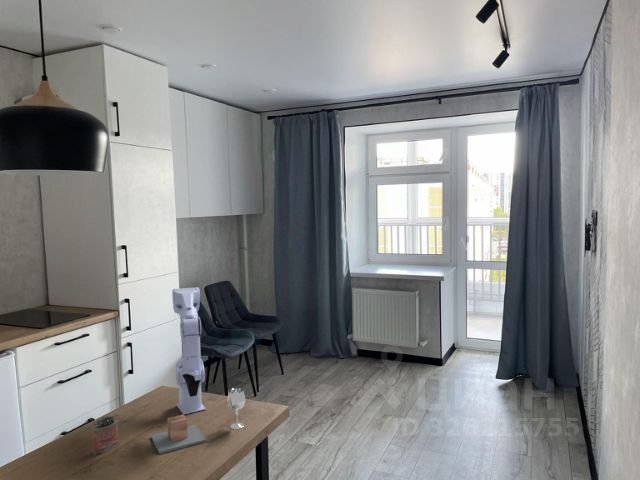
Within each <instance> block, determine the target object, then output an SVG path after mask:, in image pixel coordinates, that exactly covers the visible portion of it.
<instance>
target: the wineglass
mask: <svg viewBox="0 0 640 480" xmlns="http://www.w3.org/2000/svg"><path fill="white" fill-rule="evenodd" d="M226 403H227V406H228V408H229V409H230V410H232V411H234V414H235V423H232V424H231V425H230V426H229V427H230V429H231V430H239V429H242V428H244V426H245V425H244V423H241V422H239V421H238V418H239V417H238V416H239V410H240V411H241V410H242V409H243V408H244V407H245V405H246V395H245V392H244V389H243V388H240V387H235V388H231V389H229V390H228V395H227V402H226Z"/></svg>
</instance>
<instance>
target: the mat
mask: <svg viewBox="0 0 640 480" xmlns="http://www.w3.org/2000/svg"><path fill="white" fill-rule="evenodd" d="M187 433H188V438H185V439H181V440H177V441H173V442H171V441H170V439H169V437H168V430H166V431H163V432H157V433H154V434H151V435H150V438H151V442H152V443H153V444H154V446H155V448H156V451H157V452H158V454H159V455H162V454H166V453H170V452H174V451H177V450H180V449H185V448H189V447H192V446H196V445H200V444H203V443H206V442H207V439H206V437H204V434H202V432H201V431H200V429H199V428H198V427H197V425H196V424H191V425H187Z"/></svg>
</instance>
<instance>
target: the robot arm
mask: <svg viewBox="0 0 640 480" xmlns="http://www.w3.org/2000/svg"><path fill="white" fill-rule="evenodd" d="M200 302H201V291H200V288H199V287H198V286H197V287H182V288H173V289H172V307H173V308H172V309H173V310H174V311H173V313H175V314H178V316H179V318H180V321H179V331H180V337H181V338H180V340H181V345H182V346H181V348H182V351H181V352H182V358H181V359H179V360H178V361H177V362H176V364H175V381H176V382H175V383H176V385H177V386H179V387H178V402H179V403H177V404H176V407H177V408H178V409H179V411H180V412H181V413H182V414H181V415H183V414H184V415H189V414H192V413H196V412H201V411H204V410H206V407H205V406H204V404H203V403H202V384H203V383H204V382H205V380H206V378H205V375H206V373H205V366H204V361H203V359H202V358H201V356H202V354H201V335H202V321H201V317H200V316H199V314H198V311H199V310H200V307H201V306H200Z"/></svg>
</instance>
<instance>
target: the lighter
mask: <svg viewBox="0 0 640 480" xmlns="http://www.w3.org/2000/svg"><path fill="white" fill-rule="evenodd" d="M93 425H94V427H92V428H91V434H92V446H93V447H92V455H93V456H98V455H102V454H104V453H107V452H109V451H112V450H114V449H115V448H116V447H118V446H120V440H119V427H118V426H119V420H118V419H115V415H114V414H110V415H106V414H105V415H103V416H102V418H101V417H100V418H97V419H95V420H94V421H93Z"/></svg>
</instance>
